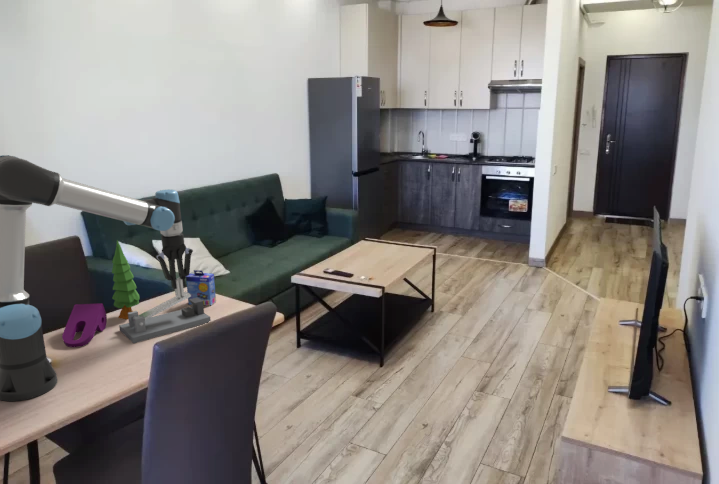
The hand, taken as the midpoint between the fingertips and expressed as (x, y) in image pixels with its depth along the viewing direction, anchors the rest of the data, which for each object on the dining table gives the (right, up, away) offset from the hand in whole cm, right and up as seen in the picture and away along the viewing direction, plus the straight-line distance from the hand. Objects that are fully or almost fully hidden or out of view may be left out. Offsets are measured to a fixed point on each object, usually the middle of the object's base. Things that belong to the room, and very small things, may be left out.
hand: (179, 295), depth 198 cm
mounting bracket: (-30, -14, -10) cm, 34 cm away
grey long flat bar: (-5, -5, -3) cm, 8 cm away
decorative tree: (-22, -9, +8) cm, 25 cm away
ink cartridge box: (+2, -5, +21) cm, 22 cm away
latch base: (-5, -11, -1) cm, 12 cm away
